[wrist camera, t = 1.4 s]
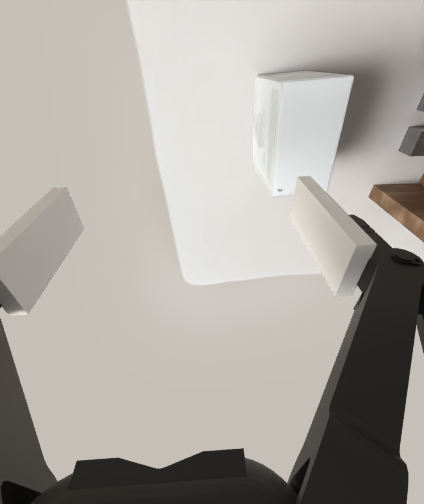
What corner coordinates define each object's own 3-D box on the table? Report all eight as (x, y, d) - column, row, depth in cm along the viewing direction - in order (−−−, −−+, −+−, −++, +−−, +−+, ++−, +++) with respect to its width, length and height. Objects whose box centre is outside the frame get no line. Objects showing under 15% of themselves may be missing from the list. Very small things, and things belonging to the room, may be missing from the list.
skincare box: (297, 161, 35) (329, 193, 26) (252, 165, 35) (269, 199, 26) (311, 68, 28) (358, 74, 20) (255, 74, 28) (279, 81, 20)
